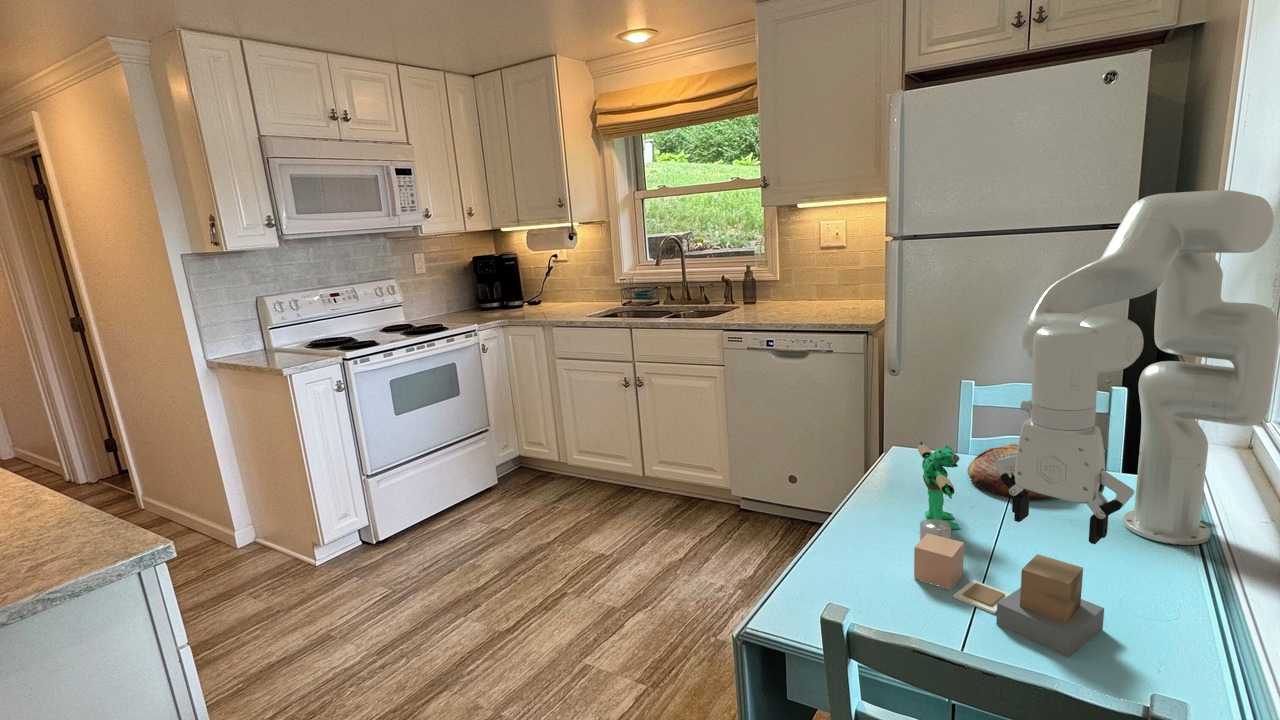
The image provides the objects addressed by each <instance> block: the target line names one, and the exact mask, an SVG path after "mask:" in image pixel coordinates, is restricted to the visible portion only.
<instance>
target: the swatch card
mask: <svg viewBox="0 0 1280 720" xmlns="http://www.w3.org/2000/svg"><path fill="white" fill-rule="evenodd" d="M1010 594H1011V593H1009V592H1007V591H1003V590H1001V589H999V588H996V587H993V586H990V585H988V584H985V583H982V582H980V581H977V580H975V579H973V580H971V581H970V582H968V583H967V584H966V585H964V586H963V587H962V588H960V589H959V590H958V591H956V593H954V594H953V595H952V597H954V599H956V600H959V601H961V602H963V603H966V604H968V605H971V606H973V607H975V608H977V609H981V610H983V611H986V612H988V613H991V614H993V615H997V603H998V602H1000V601H1001V600H1003V599H1004V598H1006V597H1007V596H1009V595H1010Z"/></svg>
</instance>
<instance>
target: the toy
mask: <svg viewBox="0 0 1280 720" xmlns="http://www.w3.org/2000/svg"><path fill="white" fill-rule="evenodd" d="M917 450H918V452H919V454H920V456H921V458H923V460H922V463H921V467H922V470H923V476H922V479H923V482H924V484H925V486H926V488H927V495H928V510H927V511H925V512H924V514H925V517H926V519H938V520H942V521H945V522H947V523H949V524H950V526H951V530H961V527H960V526H959V524H958V523H956V522H954V521H950V520H955V517H954V516H953V515H954V514H952V513H950V512H948V511H944V509H943V507H944V503H945V500H944V495H945V496H947V497H948V498H949V499H952V498H953V495H954V494H955V487H954V485H953V483H952V481H951V480H950V479H949V478H948V471H947V470H946V468H958V467H959V464H957V463H958V462H959V461H960V460H961V458H960V456H959V455H957V454H956V452H954V450H953V448H952V447H951V446H950V445H945V446H944V447H943V448H936V449H935V450H934V452H932V450H931V449H930V448H929V447H928V445H927V446H926V445H925V444H923V442H922V441H920V442H919V446H917ZM944 467H945V468H944Z"/></svg>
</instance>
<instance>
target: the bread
mask: <svg viewBox="0 0 1280 720" xmlns="http://www.w3.org/2000/svg"><path fill="white" fill-rule="evenodd" d="M1017 449H1018V444H1016V443H1007V444H1006V445H1003V446H997V447H992V448H989V449H987V450H985V451H983V452H981V453H980V454H978V455H977V456H976V457H975V458H974V459H973V460H972V461H971V462H970V463H969V465H968V467H967V471H966V473H967V475H968V477H969V479H971V481H972V483H974V485H975V486H976V487H977V488H978V489H980V490H984V491H987V492H988V493H992V494H994V495H998V496H1001V497H1002V496H1003V497H1005V498H1011V499H1012V495H1011V494H1010V493H1009V489H1008V488H1007V486H1006V485H1005V484H1004V483H1003V482H1002V481H1001V479H1000V474H999V473H998V471H997V469H996V467H995V465H994V462H995V461H997V460H998V459H1001V458H1005V457H1009V456H1013V455H1017ZM1009 469H1010V472H1012V473H1013V474H1014V476H1015V465H1014V466H1009ZM1028 493H1029V501H1043V500H1045V501H1046V500H1049V499H1050V500H1051V499H1054V498H1055V497H1051V496H1047V495H1043V494H1039V493H1036V492H1032V491H1028Z"/></svg>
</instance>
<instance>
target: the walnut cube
mask: <svg viewBox="0 0 1280 720" xmlns="http://www.w3.org/2000/svg"><path fill="white" fill-rule="evenodd" d="M1020 575H1021V577H1020V578H1021V579H1020V588H1021V592H1020V607H1022V608H1025V609H1028V610H1030V611H1033V612H1036V613H1039V614H1042V615H1044V616H1047V617H1050V618H1053V619H1055V620H1058V621H1061V622H1064V623H1067V622H1068V620H1069V619H1070V618H1071V617H1072V615H1073V614H1074V613H1075V611H1076V610H1077V609H1078V608H1079V606H1080V604H1081V599H1082V592H1083V591H1082V590H1083V575H1084V567H1082V566H1078V565H1075V564H1072V563H1069V562H1066V561H1062V560H1060V559H1059V560H1058V559H1055V558H1052V557H1049V556H1045V555H1042V554H1038V553H1036V555H1035V556H1034V557H1032V558H1031V559H1030V561H1029V562H1028V563H1027V564H1025V565H1024V567H1022V569H1021V573H1020Z"/></svg>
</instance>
